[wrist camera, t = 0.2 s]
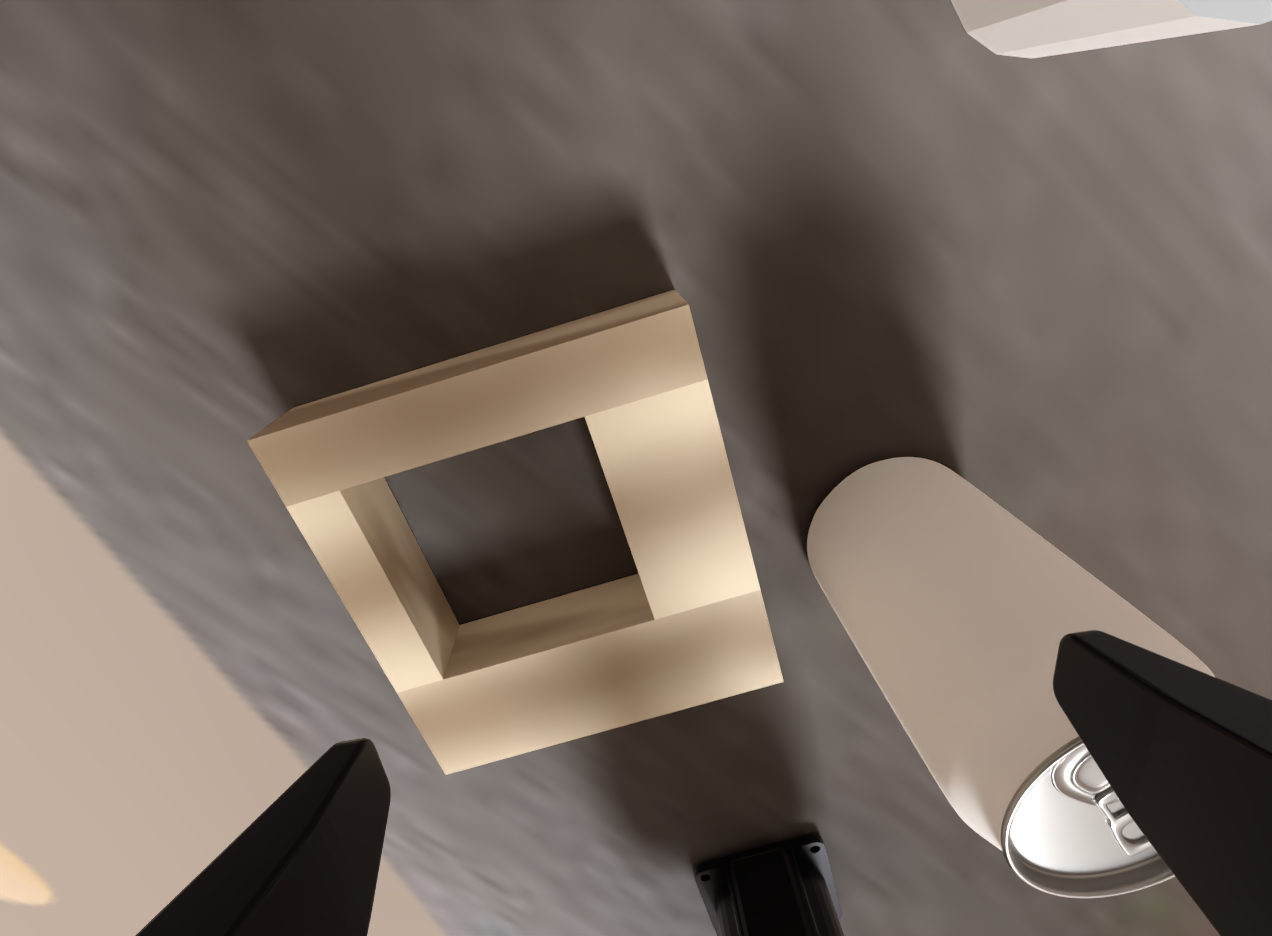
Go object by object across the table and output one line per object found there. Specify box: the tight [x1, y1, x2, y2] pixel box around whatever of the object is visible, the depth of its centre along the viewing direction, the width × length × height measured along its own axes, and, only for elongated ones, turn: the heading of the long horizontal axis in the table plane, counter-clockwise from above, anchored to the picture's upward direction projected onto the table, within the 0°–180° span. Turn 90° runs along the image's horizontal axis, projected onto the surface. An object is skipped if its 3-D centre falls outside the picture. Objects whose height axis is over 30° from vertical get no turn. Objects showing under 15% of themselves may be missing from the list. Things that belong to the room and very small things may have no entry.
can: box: [807, 457, 1215, 898], centre depth 18 cm, size 6×6×12 cm
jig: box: [247, 289, 784, 775], centre depth 22 cm, size 14×13×3 cm
